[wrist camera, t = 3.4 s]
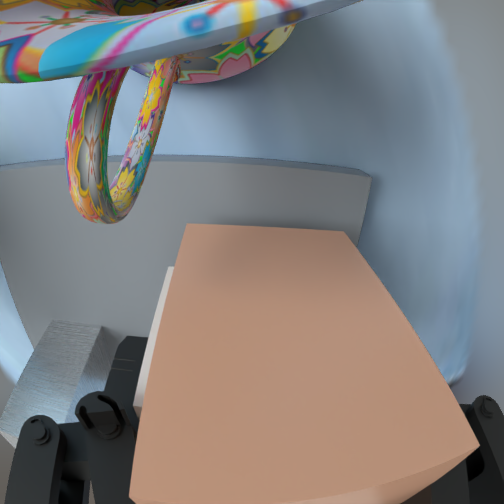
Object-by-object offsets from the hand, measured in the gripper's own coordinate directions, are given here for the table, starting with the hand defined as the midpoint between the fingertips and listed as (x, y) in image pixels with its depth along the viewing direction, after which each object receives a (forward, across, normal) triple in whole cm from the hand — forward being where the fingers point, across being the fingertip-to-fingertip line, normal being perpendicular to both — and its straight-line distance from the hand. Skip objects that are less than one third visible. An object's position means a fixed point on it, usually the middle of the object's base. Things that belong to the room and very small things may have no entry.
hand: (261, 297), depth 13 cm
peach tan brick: (0, 0, 0) cm, 0 cm away
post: (+1, -10, -5) cm, 11 cm away
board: (+3, -5, -2) cm, 6 cm away
